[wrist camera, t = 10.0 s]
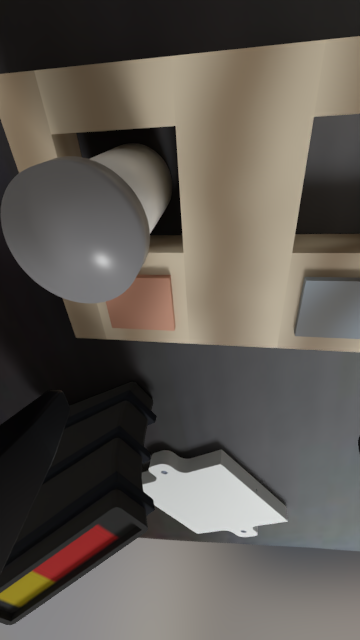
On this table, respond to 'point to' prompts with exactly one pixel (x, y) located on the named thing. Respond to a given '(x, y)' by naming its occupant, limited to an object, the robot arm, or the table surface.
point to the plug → (86, 220)
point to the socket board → (214, 190)
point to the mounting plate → (210, 493)
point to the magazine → (82, 501)
